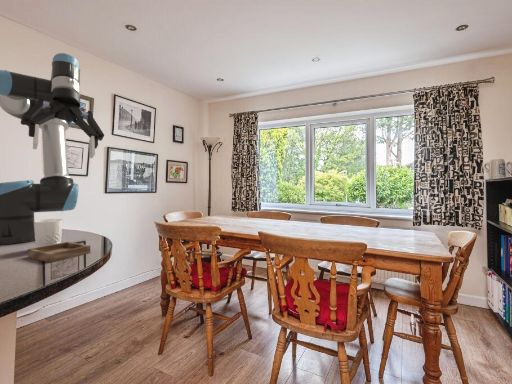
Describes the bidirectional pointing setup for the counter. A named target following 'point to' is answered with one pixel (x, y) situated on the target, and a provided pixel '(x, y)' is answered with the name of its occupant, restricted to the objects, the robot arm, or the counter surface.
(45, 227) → the white cup
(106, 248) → the counter surface
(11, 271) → the counter surface
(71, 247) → the walnut coaster tray
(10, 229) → the robot arm
